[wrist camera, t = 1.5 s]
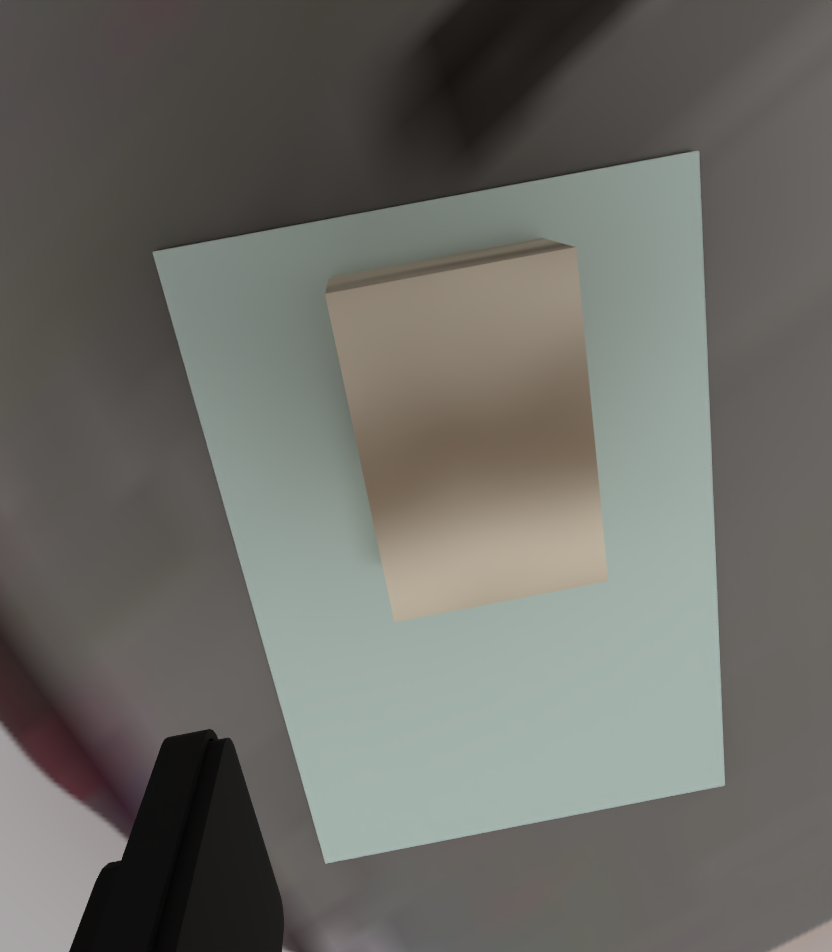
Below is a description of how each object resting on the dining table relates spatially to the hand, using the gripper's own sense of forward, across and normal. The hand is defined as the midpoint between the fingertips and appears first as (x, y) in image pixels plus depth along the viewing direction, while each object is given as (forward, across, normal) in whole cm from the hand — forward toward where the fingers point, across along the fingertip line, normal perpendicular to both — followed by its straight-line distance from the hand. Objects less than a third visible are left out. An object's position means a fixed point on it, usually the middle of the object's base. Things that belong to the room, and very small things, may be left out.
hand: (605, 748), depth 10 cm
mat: (+15, 0, +4) cm, 16 cm away
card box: (+14, 0, -1) cm, 14 cm away
